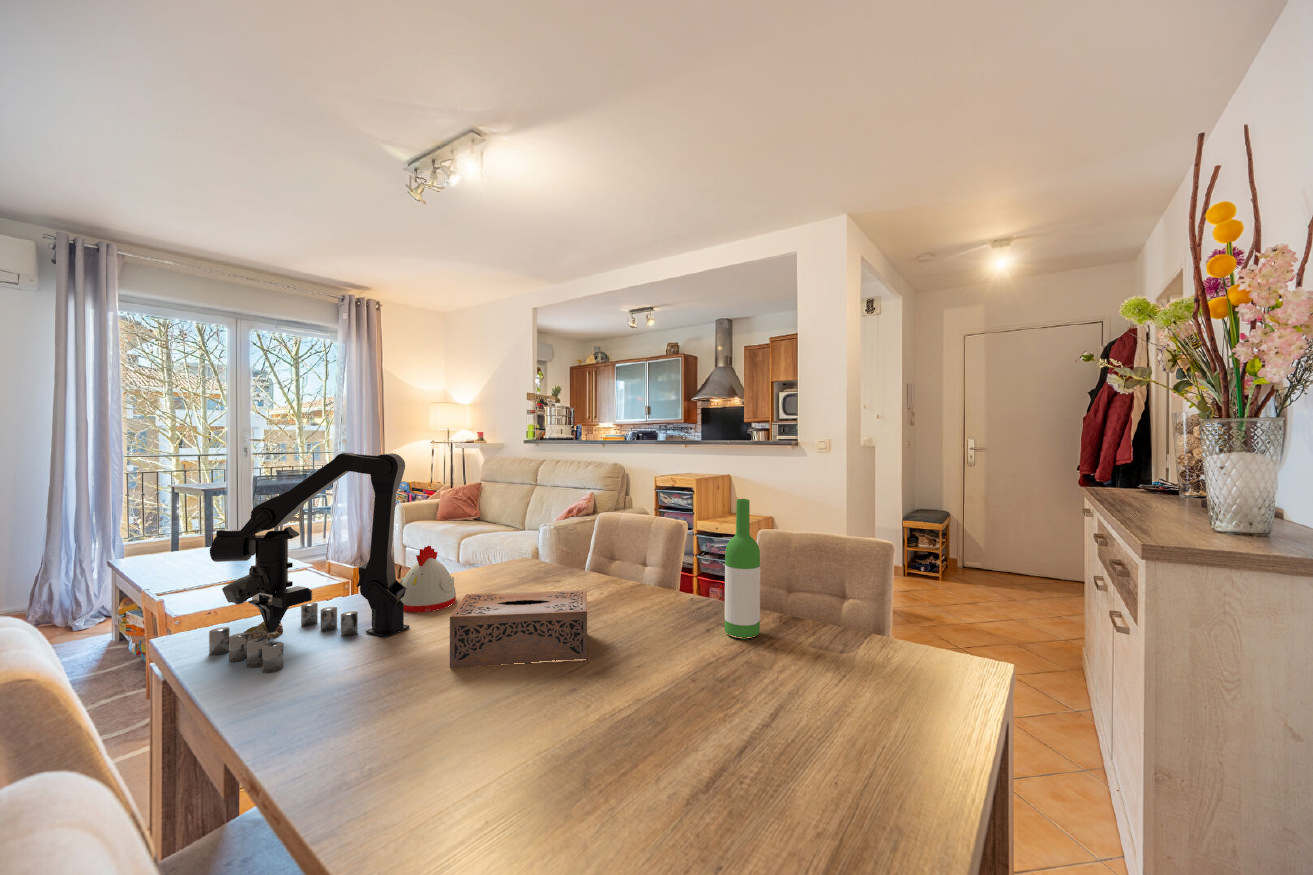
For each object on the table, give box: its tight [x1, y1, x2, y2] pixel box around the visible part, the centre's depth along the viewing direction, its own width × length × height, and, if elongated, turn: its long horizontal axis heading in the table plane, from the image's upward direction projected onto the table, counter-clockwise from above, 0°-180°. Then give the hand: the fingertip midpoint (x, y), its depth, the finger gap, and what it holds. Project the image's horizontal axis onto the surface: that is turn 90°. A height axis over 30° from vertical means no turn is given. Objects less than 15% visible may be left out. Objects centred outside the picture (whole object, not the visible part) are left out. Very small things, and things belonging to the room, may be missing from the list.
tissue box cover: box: [449, 589, 588, 669], centre depth 111 cm, size 26×14×10 cm, turn 98°
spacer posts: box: [208, 602, 359, 674], centre depth 113 cm, size 21×21×4 cm
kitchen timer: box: [399, 545, 457, 613], centre depth 141 cm, size 14×14×15 cm
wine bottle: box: [724, 498, 761, 638], centre depth 120 cm, size 8×8×30 cm
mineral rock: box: [242, 621, 284, 640], centre depth 117 cm, size 11×4×8 cm
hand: (271, 632), depth 117 cm, fingers closed
